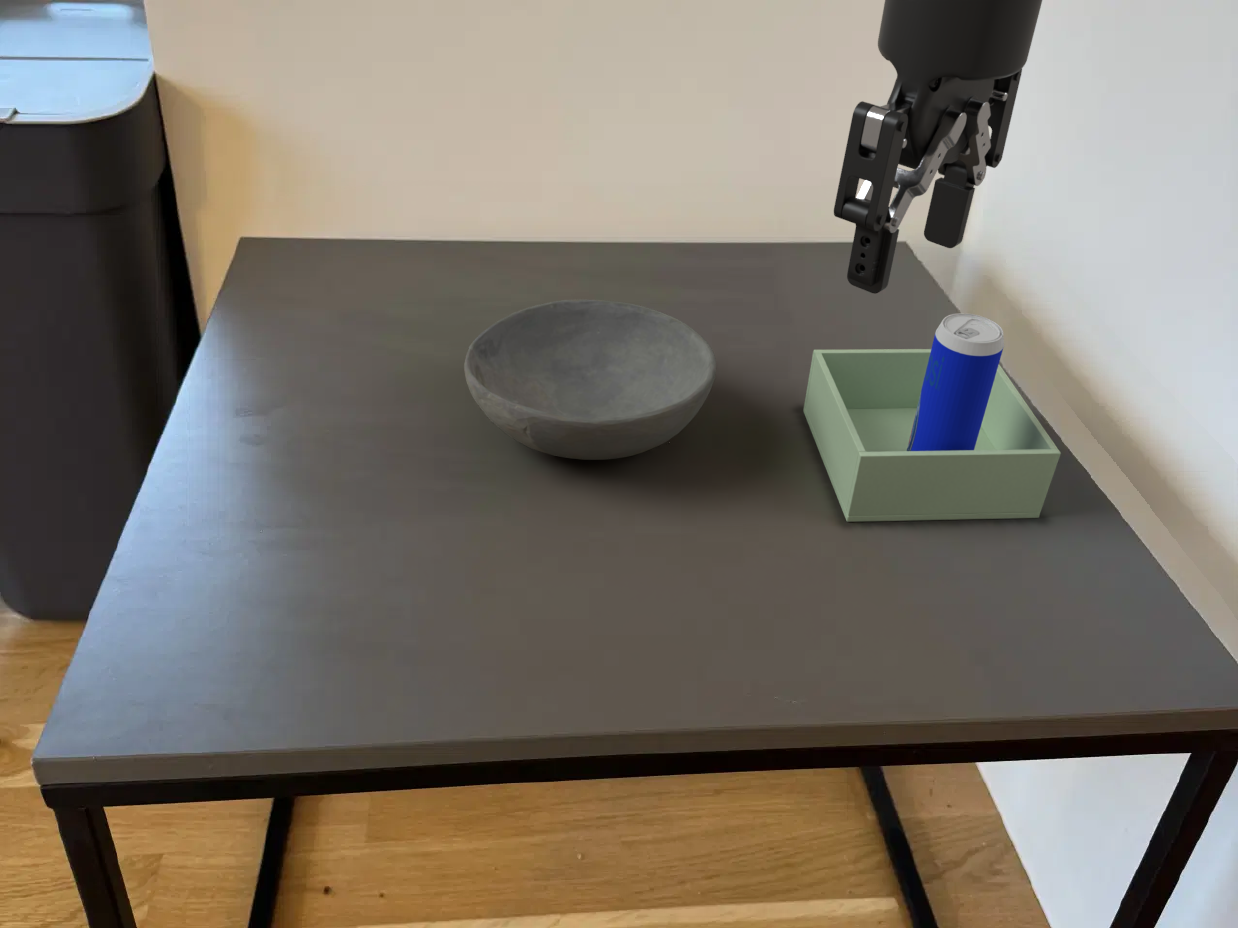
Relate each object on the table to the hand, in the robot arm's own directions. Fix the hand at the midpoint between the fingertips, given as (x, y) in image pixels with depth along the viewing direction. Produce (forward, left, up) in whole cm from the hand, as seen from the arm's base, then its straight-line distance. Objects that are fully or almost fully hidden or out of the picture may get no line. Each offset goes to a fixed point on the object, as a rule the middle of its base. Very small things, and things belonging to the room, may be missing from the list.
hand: (905, 264), depth 64 cm
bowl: (+29, -3, -28) cm, 41 cm away
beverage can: (+4, -19, -28) cm, 34 cm away
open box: (+7, -21, -28) cm, 36 cm away
